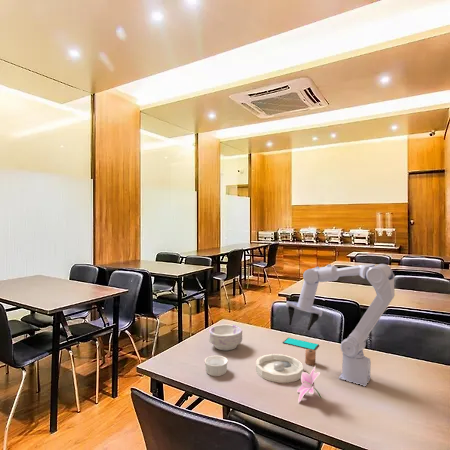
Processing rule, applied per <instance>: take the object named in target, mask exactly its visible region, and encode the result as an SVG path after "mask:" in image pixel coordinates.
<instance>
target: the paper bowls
mask: <svg viewBox="0 0 450 450" xmlns="http://www.w3.org/2000/svg"><path fill="white" fill-rule="evenodd" d="M208 341H209V342H210V343H211V345H213V346H214V347H215V349H218V350H220V351H232V350H235V349H236V348H237V347H238V346H239V345H240V344H241V343H242V342H243V329H242V327H240V326H238V325H235V324H233V325H232V324H217V325H214V326H211V327H210V328H209V330H208Z"/></svg>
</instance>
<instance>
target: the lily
mask: <svg viewBox="0 0 450 450" xmlns="http://www.w3.org/2000/svg"><path fill="white" fill-rule="evenodd" d="M316 366H317V365H314V367H312V370H311V371H310V373H308V372H307V371H306V372H305V371H303V372H302V374H301V378H300V382H301V385H300V386H299V387H298V389H297V390H296V393H299V395H298V399H297V403H298V404H300V403H301V400H302V399H303V397H304V395H305V394H307V393H308V394H310V395H314V394H315V393H314V391H316V392H317V394H318V396H319V397H320V398H322V395H321V394H320V393H319V391H318V389H316V387H315V381H316V379H317V378H318V377H319V376H320V374H321V372H320V371H317V372H316V368H317V367H316Z"/></svg>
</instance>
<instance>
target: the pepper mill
mask: <svg viewBox="0 0 450 450" xmlns="http://www.w3.org/2000/svg"><path fill="white" fill-rule="evenodd" d="M316 355H317V354H316V349H315V350H312V349H305V354H304V356H305V358H304V359H305V361H304V363H305V364H306V365H308V366H312V365H313V366H316Z"/></svg>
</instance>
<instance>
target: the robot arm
mask: <svg viewBox="0 0 450 450" xmlns="http://www.w3.org/2000/svg"><path fill="white" fill-rule="evenodd" d="M353 276H359V277H360V278H362V279H365V280H367V281H368V283H370V285H371V286H372V288H373V290H374V291H375V294H376V295H375V297H374V299H372V302H371V303H370V305H369V306H368V308H367V309H366V311H365V312H364V313H363V315H362V317H361V318H360V320H359V322H358V323H357V324H356V326H355V328H354V329H353V330H352V331H351V333H350V334H349V335H348V336H347V338H345V339H343V340H341V343H340V347H339V348H340V351H341V352H342V370H341V373H340V375H339V376H338V379H339V380H342V381H345V380H346V381H345V382H348V381H349V383H351V382H353V383H352V384H355V383H356V385H358V384H360V385H359V386H361V385H363V386H362V387H365V386H366V385H367V386H368V384H369V382H370V381H371V379H370V378H371V368H372V367H371V363H372V361H371V358H370V357H367V356H366V355H365V354H364V351H363V349H365V348H366V345H367V340H368V338H369V335H370V333H371V331H373V329H374V328H375V326H376V324H377V323H378V322H379V320H380V318H381V317H382V315H383V314H384V313H385V311H386V310H387V308H388V307H389V305H390V304H391V303H392V301H393V299H394V298H395V296H396V295H395V278H396V277H395V276H396V275H395V273H394V272H393V270H392V268H391V267H390V266H389V265H387V264H386V263H378V264H376V263H368V264H367V263H366V264H358V265H353V266H346V267H340V268H338V266H336V265H332V264H326V266H321V267H320V266H315V267H313V268H308V269H305V270H304V272H303V274H302V277H303V283H302V287H301V291H300V293H299V294H300V295H299V298H298V301H297V302H296V301H290V300H287V301H286V303H285V307H286V308H287V312H288V317H289V320H288V325H289V326H291V325H292V323H293V322H292V321H293V317H294V314H295V310H299V311H302V312H306V313H309V314H310V319H309V321H308V324H307V327H306V328H307V331H310V330H311V328H312V326H313V325H314V324H315V323H316V322H317V321H318V320H319V318H320V317H322V315H323V312H324V311H323V310H322V309H319V308H317V307H314V306H313V305H314V301H315V297H316V295H317V294H316V293H317V290H318V286H319V283H326V282H334V281H338V279H339V278H340V277H341V278H342V277H353ZM368 381H369V382H368ZM367 383H368V384H367ZM367 386H366V387H367Z"/></svg>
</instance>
